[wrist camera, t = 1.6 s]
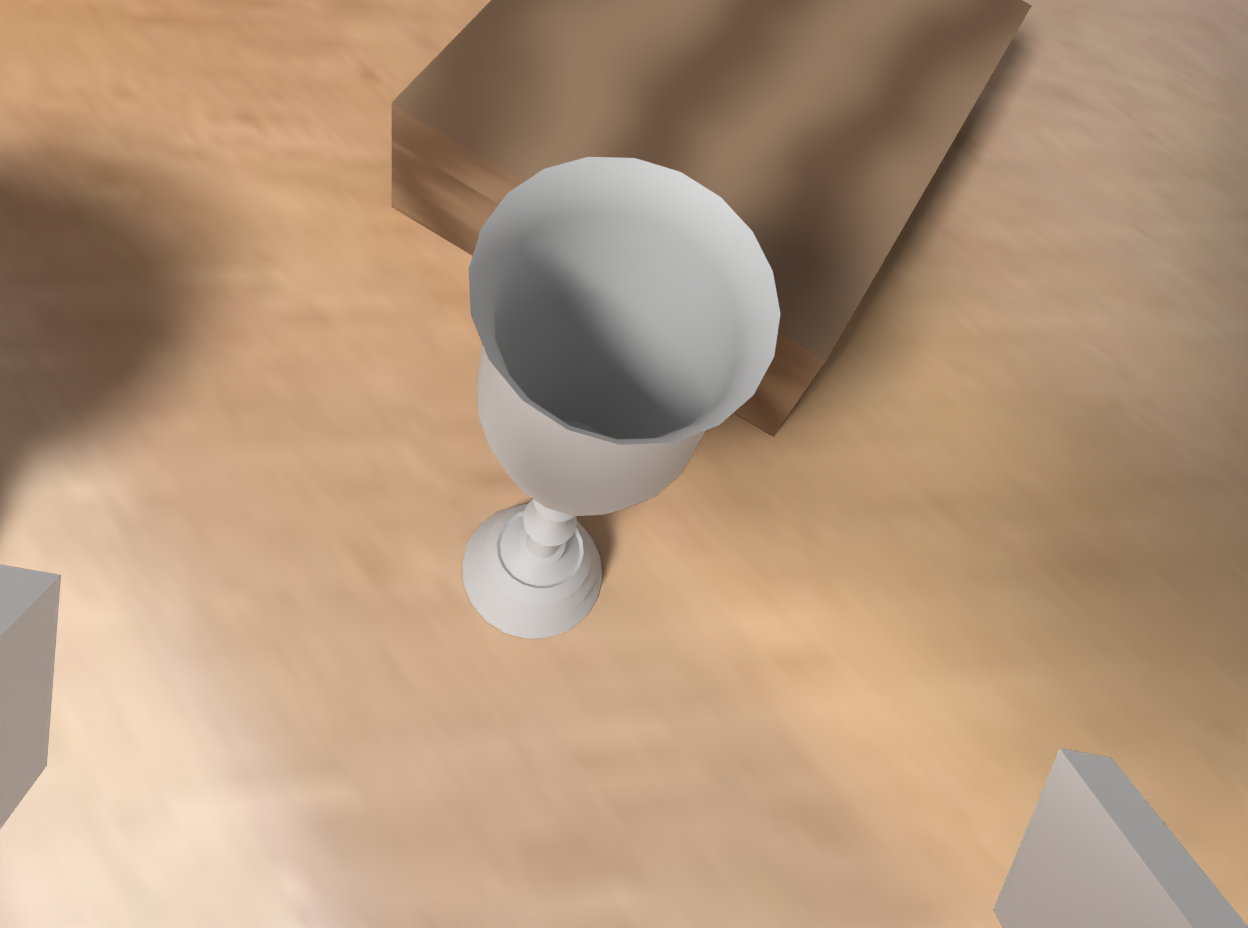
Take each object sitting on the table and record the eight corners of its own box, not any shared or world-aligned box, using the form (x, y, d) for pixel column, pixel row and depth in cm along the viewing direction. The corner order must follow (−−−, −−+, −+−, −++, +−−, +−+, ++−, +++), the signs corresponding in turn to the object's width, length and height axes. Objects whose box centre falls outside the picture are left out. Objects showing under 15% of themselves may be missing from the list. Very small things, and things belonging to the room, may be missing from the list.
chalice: (449, 466, 41) (485, 133, 25) (630, 487, 42) (777, 181, 26) (424, 660, 38) (449, 423, 22) (621, 679, 39) (783, 465, 23)
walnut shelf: (968, 102, 54) (1031, 5, 49) (773, 436, 44) (825, 361, 39) (651, -79, 55) (679, -194, 50) (391, 206, 45) (391, 102, 40)
